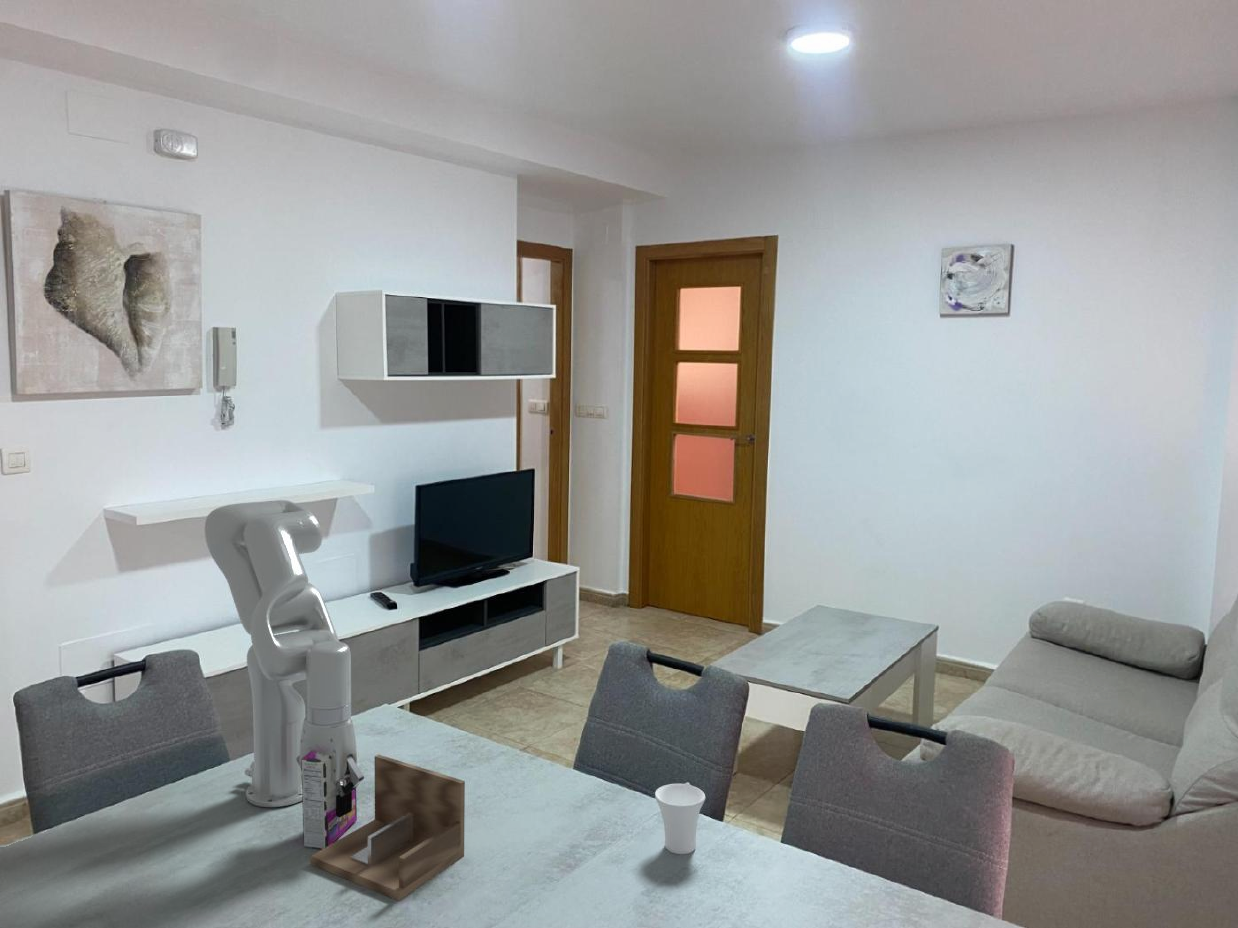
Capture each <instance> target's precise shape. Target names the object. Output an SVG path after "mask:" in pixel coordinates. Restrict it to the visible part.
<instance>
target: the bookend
mask: <svg viewBox="0 0 1238 928" xmlns="http://www.w3.org/2000/svg"><path fill="white" fill-rule="evenodd" d="M412 841H413V813H410V812H409V813H407V814H406V815H404V816H402V817H400V818H399V819H397V820H395V821H394V822H392V823H390V824H389V825H387V826H385V827H383V828H382V829H380V830H378V831H377V832H375V833H373V834H371V835H370V836H368V847H366V848H364V849H363V850H361V851H359V852H358V853H356V854H354V855H352V856H351V857H350V859H353V860H355V861H358V862H360V863H363V864H365V865H368V866H371V867H372V866H373V865H375V864H376V863H378V862H380V861H381V860H383V859H384V858H386V857H388V856H389V855H391V854H392V853H394V852H396V851H397V850H399V849H400V848H402V847H404V846H405V845H407V844H408V843H410V842H412Z"/></svg>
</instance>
